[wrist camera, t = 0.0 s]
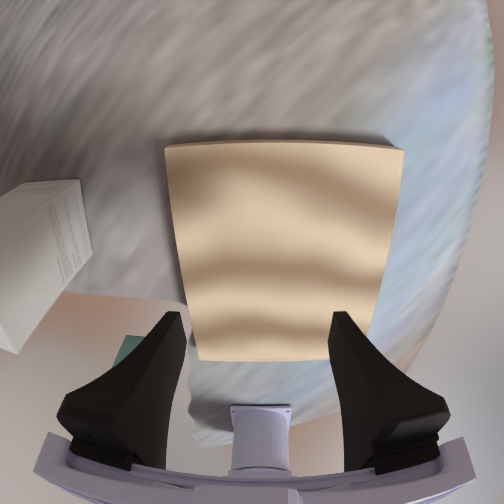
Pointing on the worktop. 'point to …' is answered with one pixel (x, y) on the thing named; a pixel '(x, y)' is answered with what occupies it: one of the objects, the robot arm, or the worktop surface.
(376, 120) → the worktop surface
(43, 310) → the supplement box
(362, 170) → the birch board
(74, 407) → the robot arm
